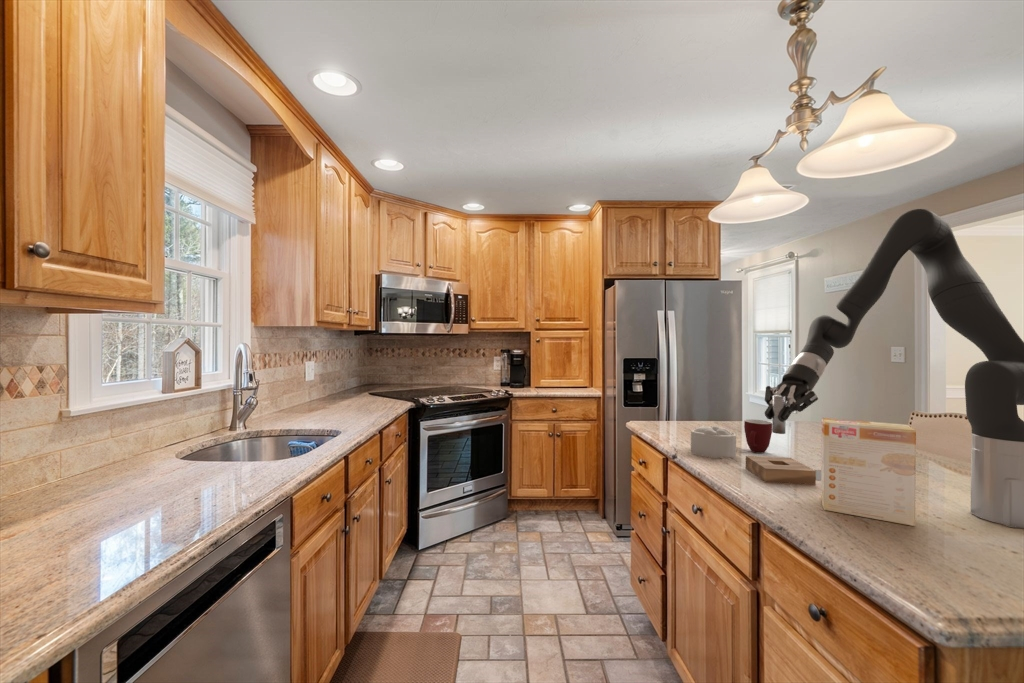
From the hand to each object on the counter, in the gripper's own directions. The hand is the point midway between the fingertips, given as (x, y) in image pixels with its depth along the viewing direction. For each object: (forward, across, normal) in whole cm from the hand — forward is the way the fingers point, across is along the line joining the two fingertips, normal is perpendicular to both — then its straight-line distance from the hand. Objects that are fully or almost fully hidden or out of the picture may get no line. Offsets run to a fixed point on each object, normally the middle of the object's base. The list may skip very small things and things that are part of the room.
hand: (774, 418), depth 112 cm
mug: (-3, -20, +26) cm, 33 cm away
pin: (+1, 0, +4) cm, 5 cm away
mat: (+2, +3, +21) cm, 21 cm away
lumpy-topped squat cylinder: (+8, -24, +15) cm, 29 cm away
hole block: (+10, 0, +13) cm, 16 cm away
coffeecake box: (+14, +23, +9) cm, 28 cm away
